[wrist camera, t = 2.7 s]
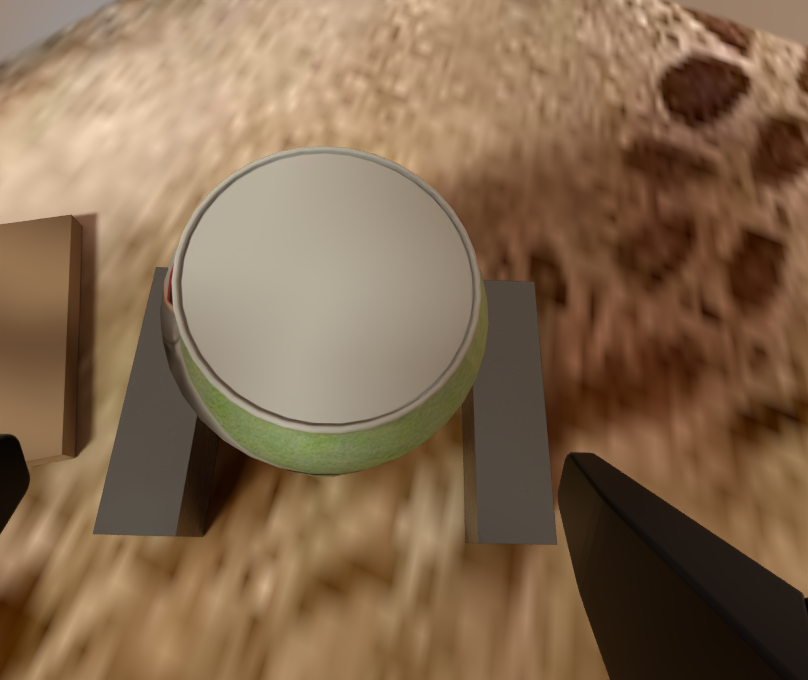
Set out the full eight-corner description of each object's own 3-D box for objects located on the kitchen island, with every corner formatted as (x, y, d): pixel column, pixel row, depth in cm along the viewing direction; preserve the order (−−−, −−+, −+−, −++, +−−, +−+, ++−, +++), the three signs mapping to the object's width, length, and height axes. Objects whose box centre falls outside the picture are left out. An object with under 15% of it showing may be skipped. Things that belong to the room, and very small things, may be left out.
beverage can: (319, 300, 21) (248, 18, 10) (469, 401, 19) (589, 210, 8) (212, 422, 19) (-36, 245, 8) (372, 545, 17) (358, 550, 6)
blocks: (533, 544, 18) (557, 544, 15) (132, 535, 17) (92, 533, 15) (517, 310, 21) (534, 281, 19) (181, 298, 20) (155, 266, 18)
